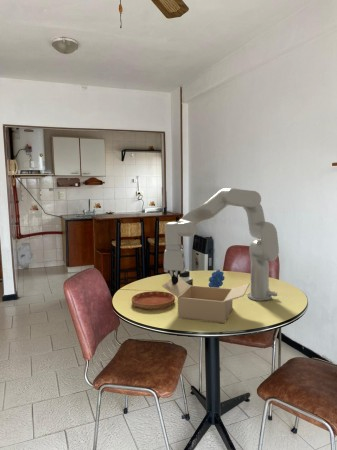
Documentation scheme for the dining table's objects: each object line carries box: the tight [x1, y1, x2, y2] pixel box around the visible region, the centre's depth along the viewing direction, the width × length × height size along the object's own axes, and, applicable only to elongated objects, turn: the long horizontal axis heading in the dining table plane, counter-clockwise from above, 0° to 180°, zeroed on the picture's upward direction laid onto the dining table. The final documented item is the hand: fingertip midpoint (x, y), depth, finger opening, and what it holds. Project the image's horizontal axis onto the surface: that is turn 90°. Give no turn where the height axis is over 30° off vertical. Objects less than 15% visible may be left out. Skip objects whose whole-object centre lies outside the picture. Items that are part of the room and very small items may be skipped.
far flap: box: [161, 276, 190, 298], centre depth 173 cm, size 9×19×1 cm
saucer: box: [131, 290, 176, 310], centre depth 184 cm, size 23×23×4 cm
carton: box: [177, 285, 233, 324], centre depth 168 cm, size 22×20×10 cm
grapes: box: [208, 269, 225, 288], centre depth 205 cm, size 12×7×12 cm, turn 122°
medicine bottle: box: [178, 269, 194, 286], centre depth 204 cm, size 7×7×12 cm
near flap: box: [225, 282, 250, 302], centre depth 162 cm, size 9×19×1 cm, turn 159°
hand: (175, 283), depth 172 cm, fingers closed
